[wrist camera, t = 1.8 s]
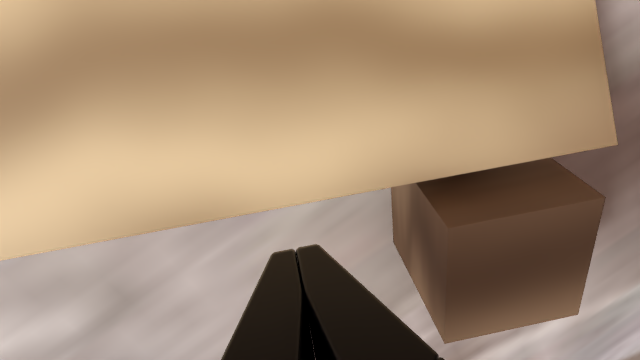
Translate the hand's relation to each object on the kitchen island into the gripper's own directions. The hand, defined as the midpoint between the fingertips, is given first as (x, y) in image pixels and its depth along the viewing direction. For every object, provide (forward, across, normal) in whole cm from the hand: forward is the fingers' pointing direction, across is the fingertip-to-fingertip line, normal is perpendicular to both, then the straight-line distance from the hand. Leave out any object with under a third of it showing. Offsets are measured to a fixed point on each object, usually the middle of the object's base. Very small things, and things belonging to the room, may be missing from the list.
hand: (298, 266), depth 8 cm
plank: (+8, 0, -1) cm, 8 cm away
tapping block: (+10, -7, +5) cm, 13 cm away
